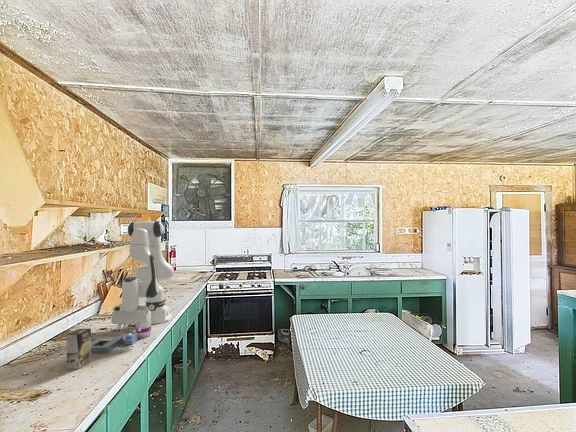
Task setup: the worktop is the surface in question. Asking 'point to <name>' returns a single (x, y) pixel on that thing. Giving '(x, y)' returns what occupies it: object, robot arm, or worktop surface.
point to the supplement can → (144, 328)
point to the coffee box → (78, 348)
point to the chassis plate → (105, 344)
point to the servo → (130, 338)
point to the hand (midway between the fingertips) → (130, 331)
